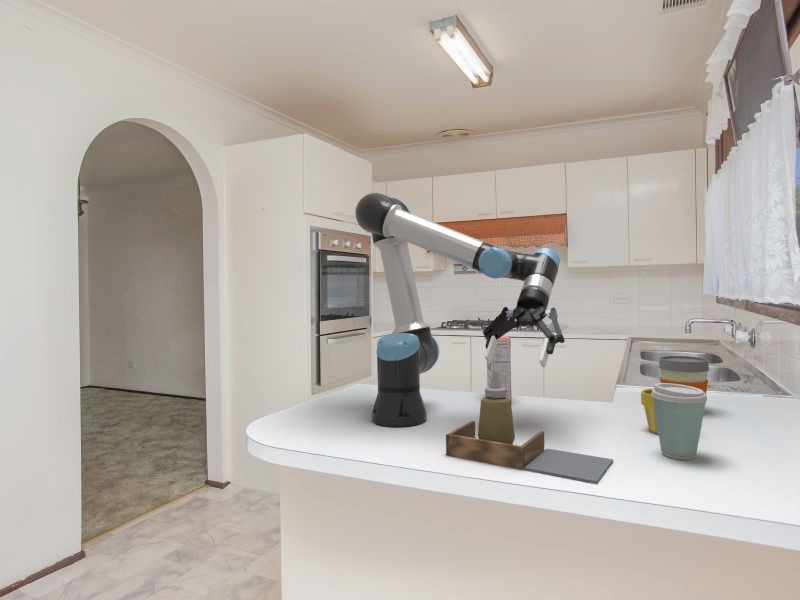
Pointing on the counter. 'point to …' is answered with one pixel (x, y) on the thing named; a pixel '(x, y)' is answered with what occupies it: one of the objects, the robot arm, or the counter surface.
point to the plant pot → (649, 409)
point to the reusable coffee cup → (684, 371)
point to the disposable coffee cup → (679, 418)
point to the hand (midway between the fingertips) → (513, 361)
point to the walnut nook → (492, 448)
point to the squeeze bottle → (496, 414)
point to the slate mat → (570, 465)
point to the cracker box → (501, 364)
